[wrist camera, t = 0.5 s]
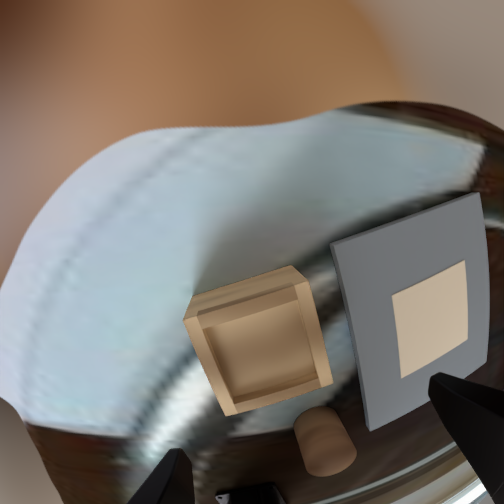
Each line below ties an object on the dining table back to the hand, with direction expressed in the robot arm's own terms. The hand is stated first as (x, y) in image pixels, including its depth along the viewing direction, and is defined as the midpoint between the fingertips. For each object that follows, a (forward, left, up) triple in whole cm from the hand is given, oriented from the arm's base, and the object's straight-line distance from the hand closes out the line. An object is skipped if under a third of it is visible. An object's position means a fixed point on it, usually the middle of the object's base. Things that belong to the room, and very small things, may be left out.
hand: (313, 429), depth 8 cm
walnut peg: (-12, -1, -12) cm, 17 cm away
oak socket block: (-1, +1, -13) cm, 13 cm away
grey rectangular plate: (-6, -13, -12) cm, 19 cm away
